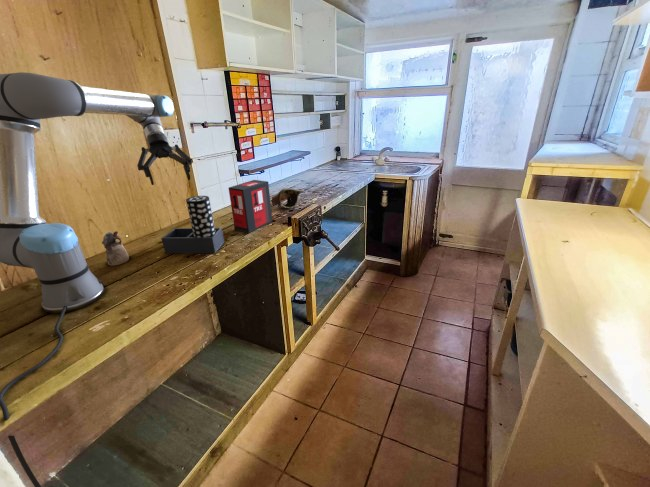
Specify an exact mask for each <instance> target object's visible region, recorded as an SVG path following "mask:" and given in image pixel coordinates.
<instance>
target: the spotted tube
mask: <svg viewBox="0 0 650 487" xmlns="http://www.w3.org/2000/svg"><path fill="white" fill-rule="evenodd" d="M185 201H186V206H187V207H186V208H187V211H188V215H189V220H190V225H191V228H192V230H193V234H194V237H212V236H213V235H214V234H215V233H216V232H215V228H216V227H215V223H214V222H215V221H214V217H213V211H212V206H211V201H210V197H209V196H208V195H195V196H191V197H187V198H186V200H185Z"/></svg>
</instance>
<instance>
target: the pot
mask: <svg viewBox="0 0 650 487" xmlns="http://www.w3.org/2000/svg"><path fill="white" fill-rule="evenodd" d="M302 192H303V189H300V190H299V189H298V190H297V189H292V188H289V187H287V188H286V187H285V188H282V189H280V190H279V192H278V193H276V194H275V195H273V196H272V197H271V205H272V204H273V205H276V206H277V207H279V208H281V207H282V208H285V209H291V208H294V207H295V206H297V204H298V201H299V196H300V195H301V193H302ZM283 201H286V204H283Z"/></svg>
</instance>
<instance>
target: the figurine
mask: <svg viewBox="0 0 650 487" xmlns="http://www.w3.org/2000/svg"><path fill="white" fill-rule="evenodd" d="M118 233H119V232H118V231H117V230H115V231H114V232H113V233H112V232H111V231H107V232H106V233H104V235H103V237H102V239H103V240H102V242H101V244H102V245H103V247H104V249H105V253H106V262H107V265H109V266H110V267H111V266H112V267H113V266H119V265H122V264H125V263H127V262H128V261H129V260H130V256H129V253H128V251H127V250H126V247H125V245H123V244H122V242H123V241H122V238H121V237H120V235H118Z"/></svg>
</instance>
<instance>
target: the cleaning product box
mask: <svg viewBox="0 0 650 487" xmlns="http://www.w3.org/2000/svg"><path fill="white" fill-rule="evenodd" d="M228 193H229V200H230V207H231V213H232V220H233V226H234V230H236V231H239V232H244V233H247V234H250V233H252V232H255V231H256V230H258V229H261V228H262V227H264V226H266V225H268V224H270V223H273V215H272V214H273V213H272V202H271V196H270V195H271V194H270V183H269V181H267V180H259V179H252V180H249V181H246V182H245V181H244V182H243V183H239V184H236V185H233V186H229V187H228Z"/></svg>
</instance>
